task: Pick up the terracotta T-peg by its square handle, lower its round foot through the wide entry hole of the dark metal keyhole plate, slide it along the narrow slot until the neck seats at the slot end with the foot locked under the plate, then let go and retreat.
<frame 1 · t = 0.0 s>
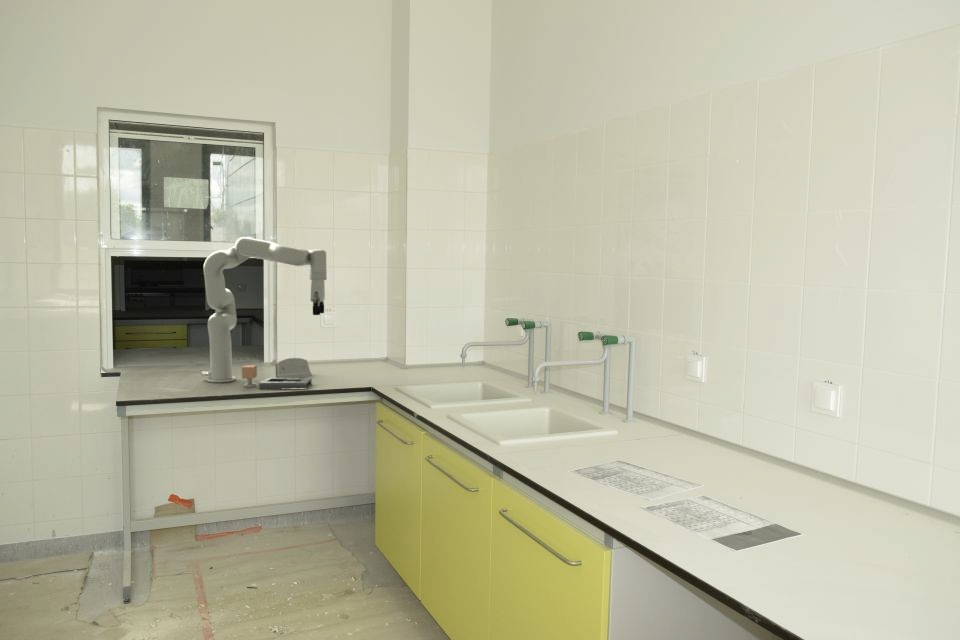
hand: (318, 314, 332), 31 cm above the worktop, fingers open, 9 cm apart
grey arched block: (292, 377, 346), on the worktop
keyhole plate: (286, 386, 321), on the worktop
t peg: (249, 386, 320), on the worktop
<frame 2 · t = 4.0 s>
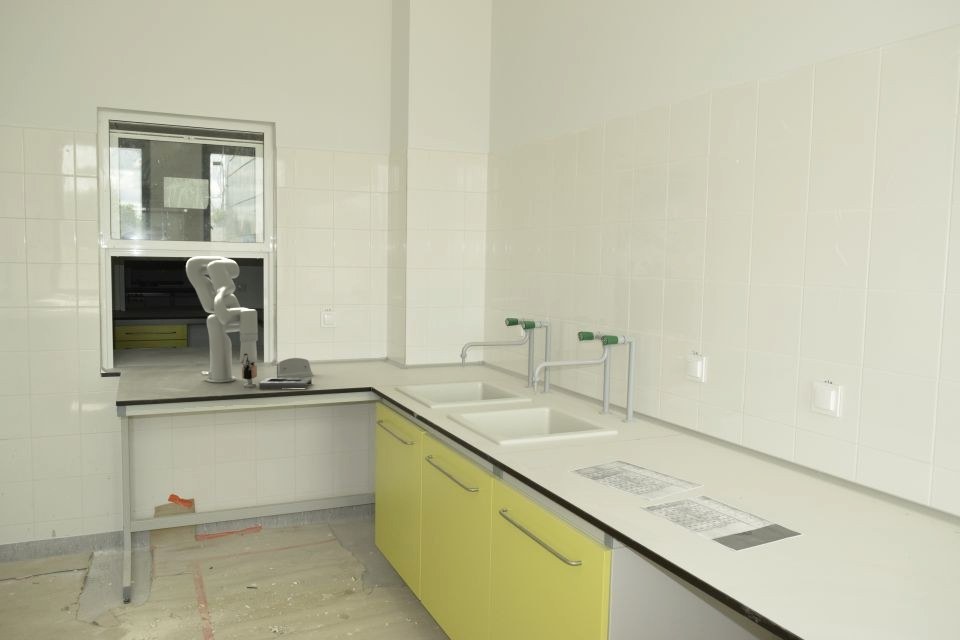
hand: (249, 377, 320), 4 cm above the worktop, fingers closed on t peg, 5 cm apart
t peg: (249, 386, 320), on the worktop, touching gripper
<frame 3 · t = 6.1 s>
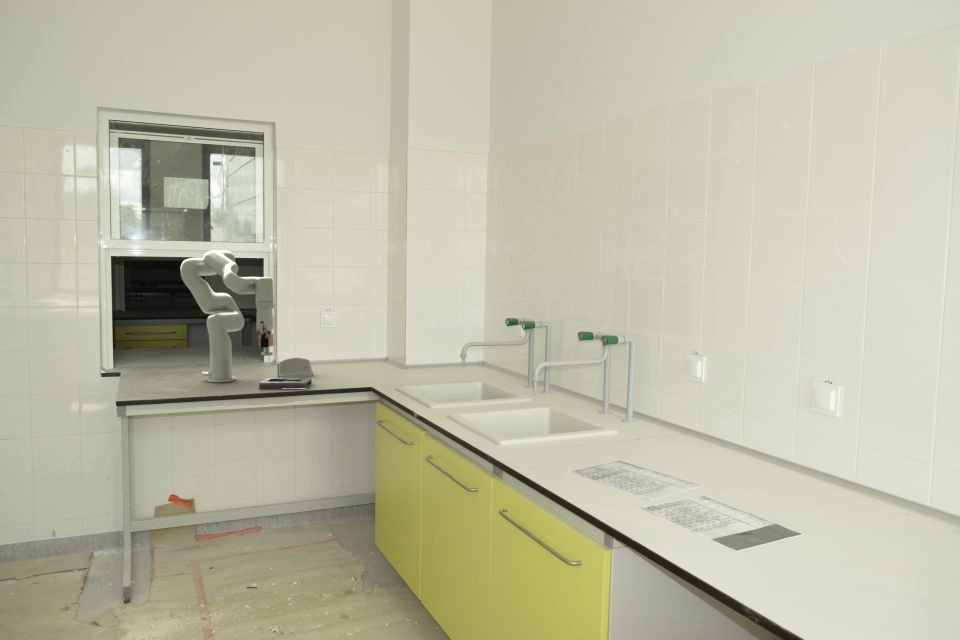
hand: (266, 346, 318), 18 cm above the worktop, fingers closed on t peg, 5 cm apart
t peg: (266, 354, 318), point 14 cm above the worktop, touching gripper
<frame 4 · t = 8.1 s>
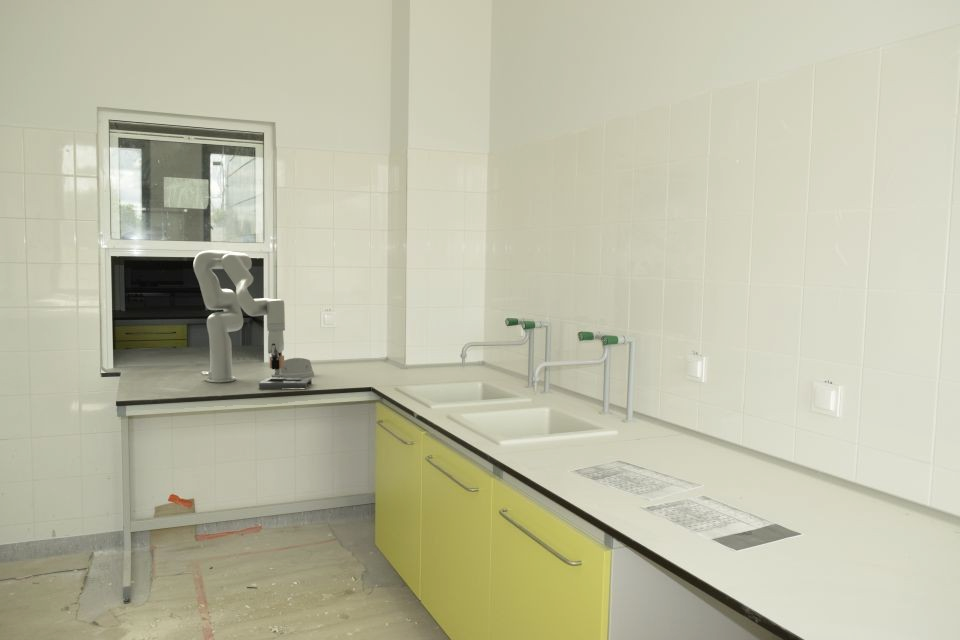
hand: (277, 367, 319), 8 cm above the worktop, fingers closed on t peg, 5 cm apart
t peg: (277, 376, 320), point 5 cm above the worktop, touching gripper
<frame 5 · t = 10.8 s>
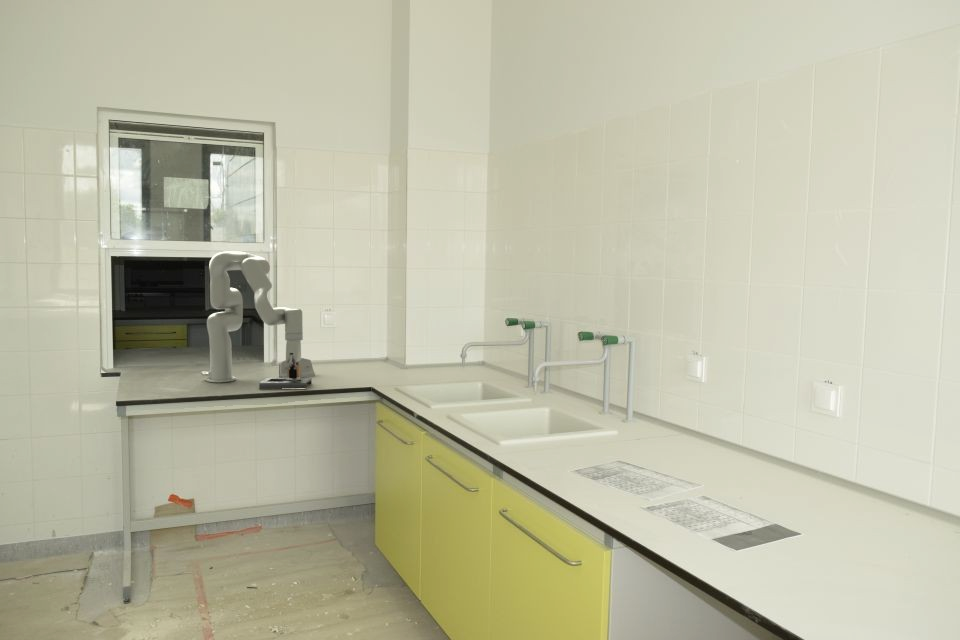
hand: (294, 376, 320), 4 cm above the worktop, fingers closed on t peg, 5 cm apart
t peg: (294, 385, 321), on the worktop, touching gripper
when the fingers open (4 cm above the worktop, at t = 12.4 s): t peg stays where it is, on the worktop.
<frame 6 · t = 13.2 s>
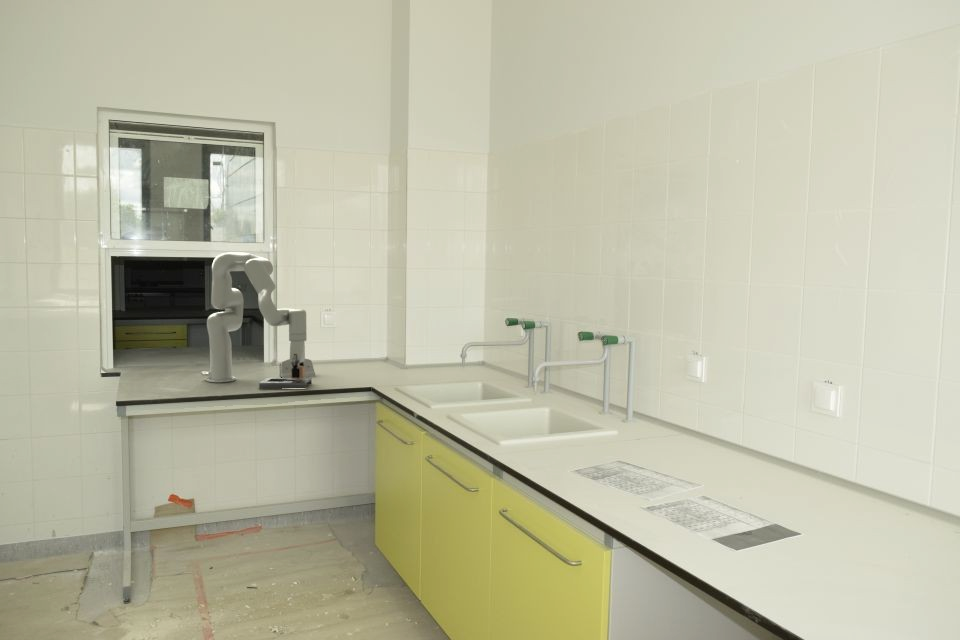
hand: (298, 375, 320), 5 cm above the worktop, fingers open, 9 cm apart
t peg: (298, 386, 321), on the worktop
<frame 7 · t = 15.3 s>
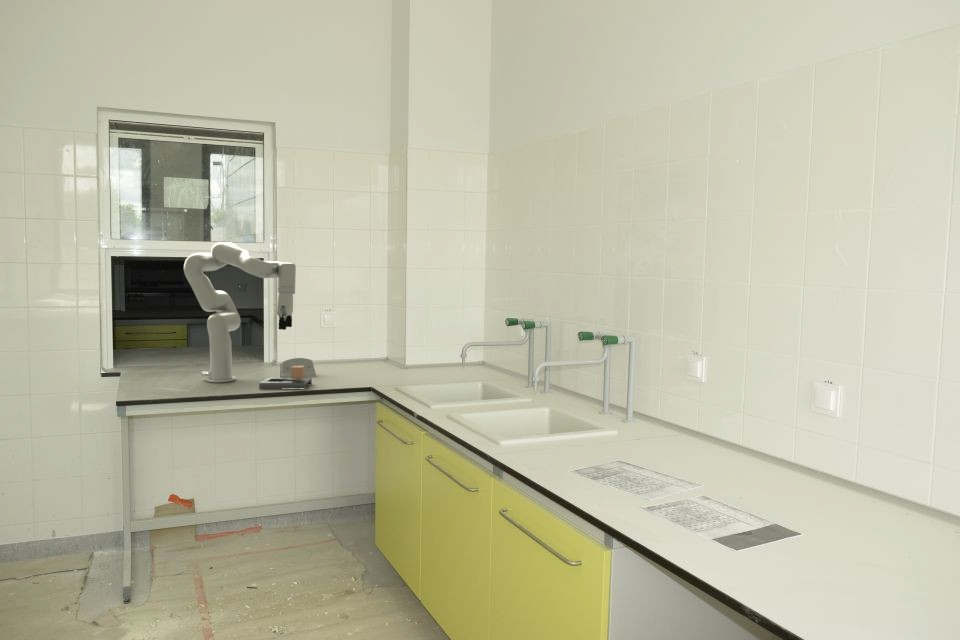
hand: (285, 328, 324), 25 cm above the worktop, fingers open, 9 cm apart
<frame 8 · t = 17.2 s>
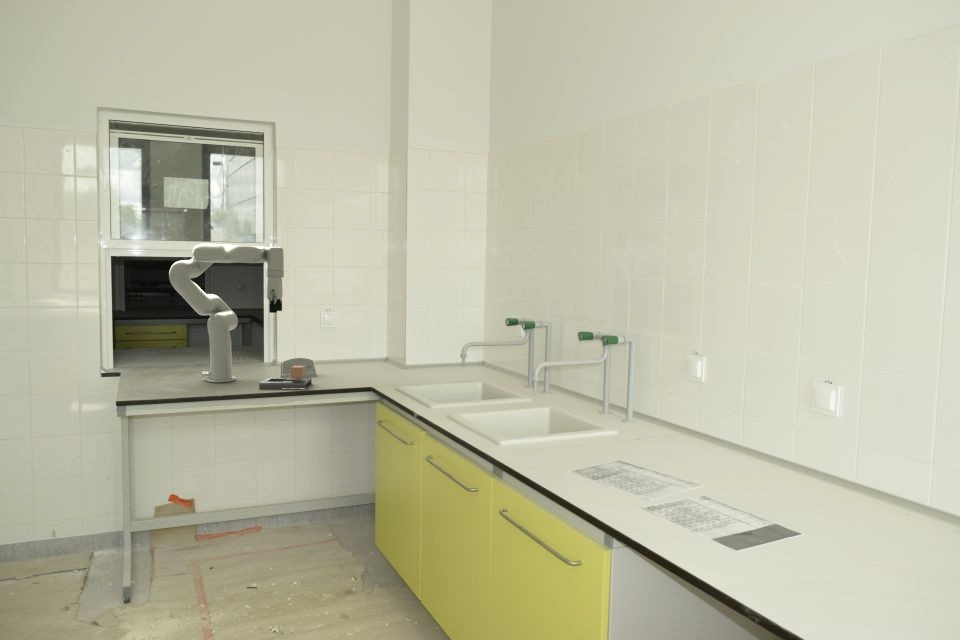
hand: (275, 311, 329), 32 cm above the worktop, fingers open, 9 cm apart
at the end: t peg 0.2 cm from the target spot on the keyhole plate, point 0.0 cm above the keyhole plate's base; t peg tilted 0°; the gripper is holding nothing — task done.
